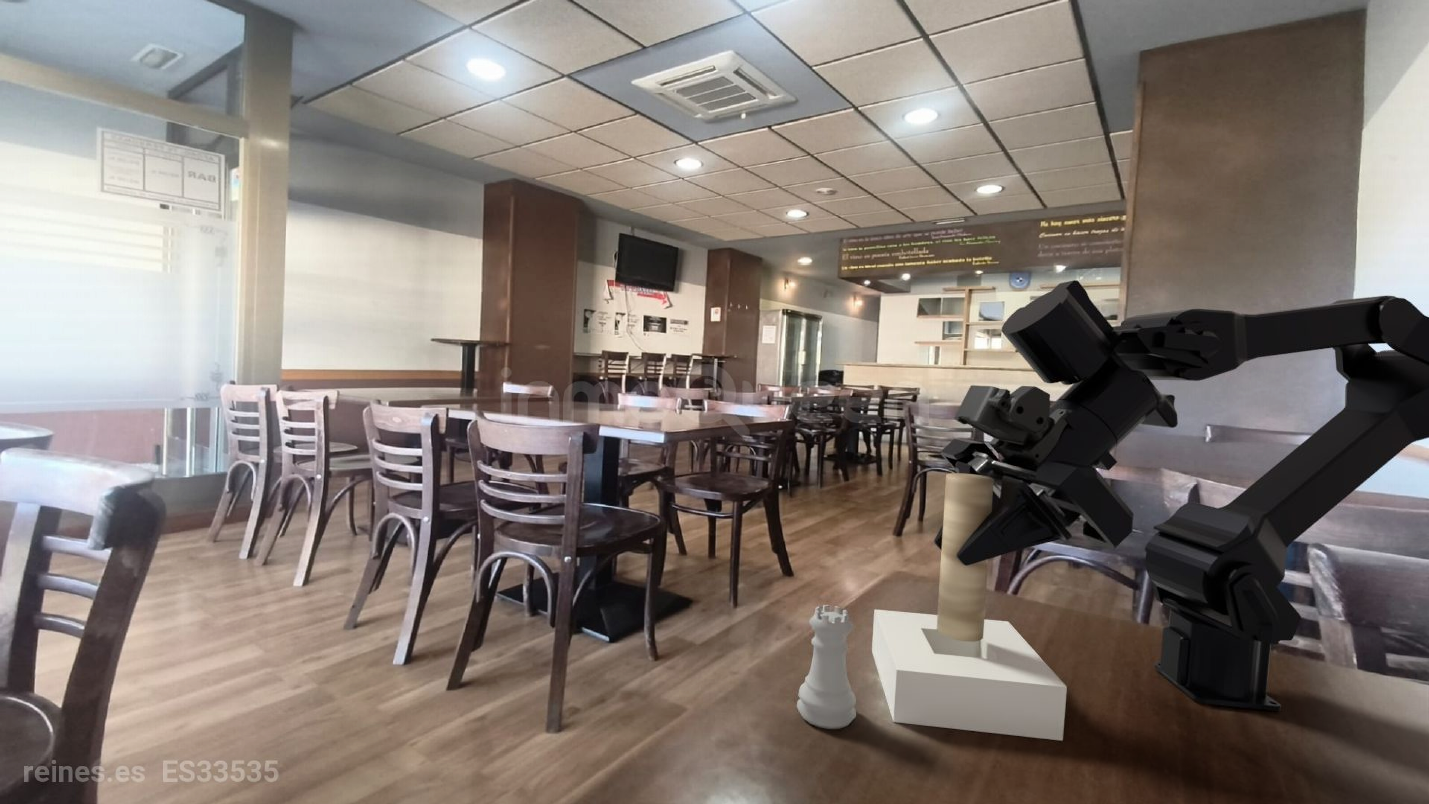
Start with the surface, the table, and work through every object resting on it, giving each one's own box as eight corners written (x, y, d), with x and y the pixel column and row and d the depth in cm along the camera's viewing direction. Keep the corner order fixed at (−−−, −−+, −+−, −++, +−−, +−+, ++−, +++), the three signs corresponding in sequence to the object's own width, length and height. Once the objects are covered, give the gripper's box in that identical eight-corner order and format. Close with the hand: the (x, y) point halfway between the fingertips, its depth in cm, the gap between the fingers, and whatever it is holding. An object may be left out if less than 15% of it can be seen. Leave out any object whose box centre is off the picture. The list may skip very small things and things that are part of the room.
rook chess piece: (861, 733, 45) (868, 625, 44) (799, 730, 45) (805, 621, 44) (849, 700, 49) (855, 602, 49) (793, 697, 49) (798, 598, 49)
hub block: (1005, 664, 57) (1008, 621, 57) (1062, 740, 45) (1066, 687, 45) (871, 651, 58) (874, 609, 58) (893, 721, 46) (896, 669, 46)
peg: (963, 621, 54) (972, 473, 53) (993, 639, 50) (1003, 480, 49) (927, 625, 52) (937, 473, 52) (955, 643, 49) (966, 481, 48)
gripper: (966, 355, 60) (849, 465, 59) (1106, 349, 41) (937, 509, 41) (1037, 439, 61) (923, 547, 60) (1204, 469, 42) (1042, 626, 42)
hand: (948, 553), depth 51 cm, fingers closed on peg, 4 cm apart
